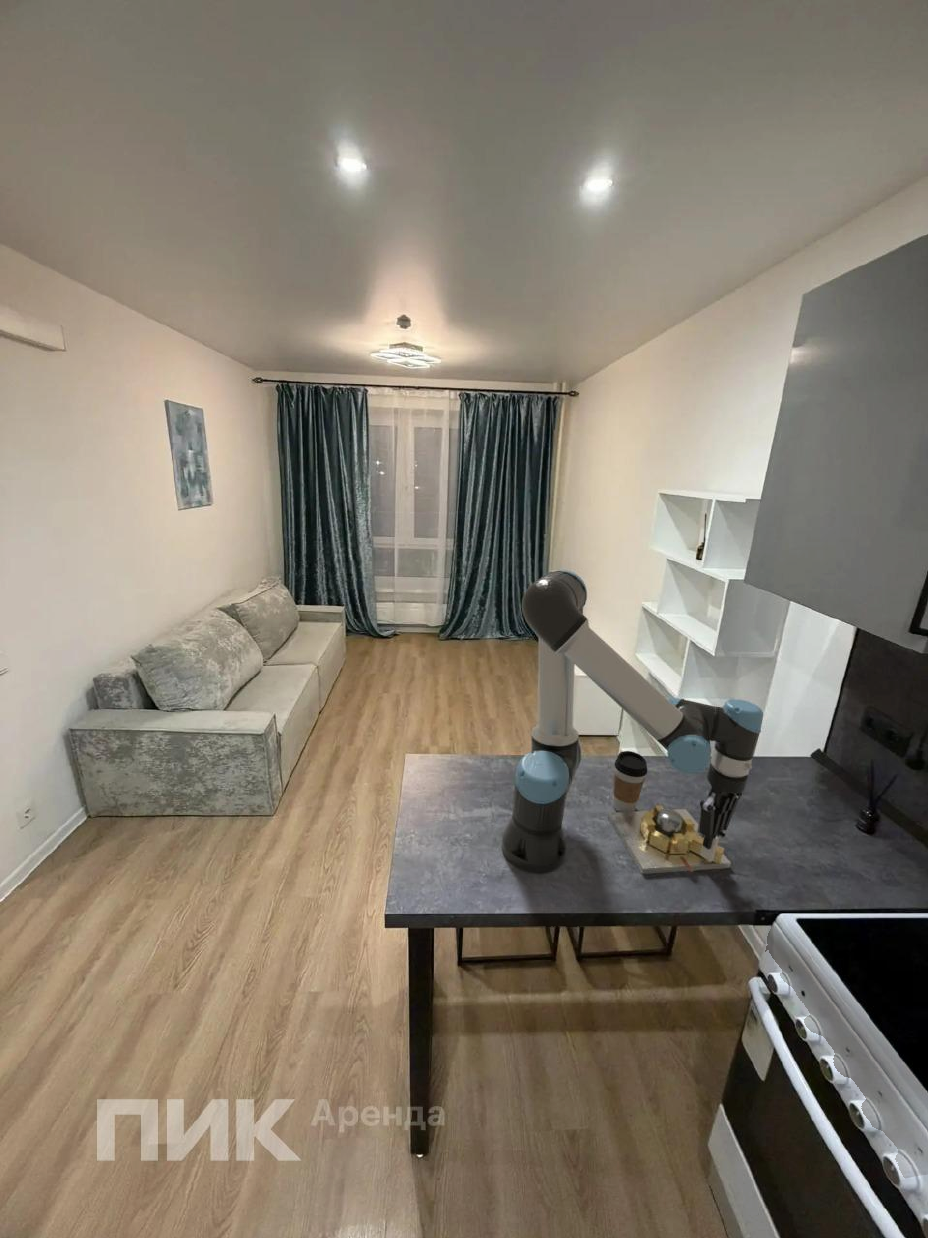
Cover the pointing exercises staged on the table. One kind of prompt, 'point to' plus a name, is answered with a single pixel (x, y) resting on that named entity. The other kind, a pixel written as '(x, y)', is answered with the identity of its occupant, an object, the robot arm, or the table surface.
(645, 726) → the robot arm
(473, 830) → the table surface
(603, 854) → the table surface
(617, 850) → the table surface
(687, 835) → the brass ball clamp
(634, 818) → the flange plate
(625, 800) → the coffee cup
